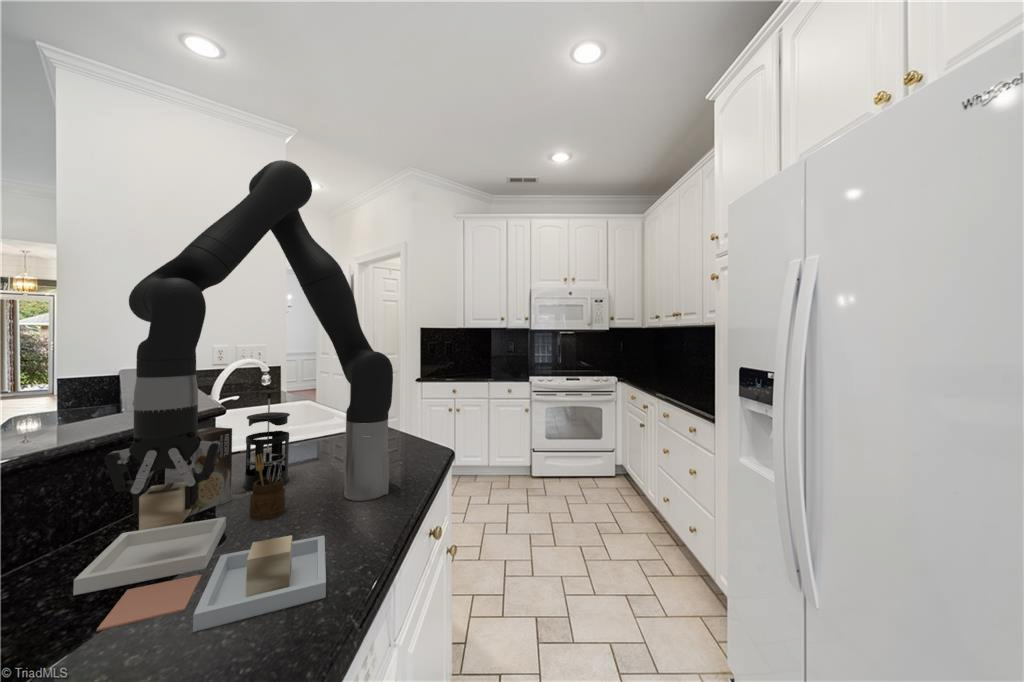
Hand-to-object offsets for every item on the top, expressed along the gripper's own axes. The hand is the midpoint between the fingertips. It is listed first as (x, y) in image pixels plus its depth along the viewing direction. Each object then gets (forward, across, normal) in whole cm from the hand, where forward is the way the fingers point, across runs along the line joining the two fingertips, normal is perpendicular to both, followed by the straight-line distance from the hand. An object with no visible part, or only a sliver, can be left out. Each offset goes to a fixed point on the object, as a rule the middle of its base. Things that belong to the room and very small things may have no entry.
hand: (166, 510), depth 60 cm
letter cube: (+1, 0, 0) cm, 1 cm away
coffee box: (+8, 0, -21) cm, 23 cm away
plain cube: (+7, -15, +15) cm, 23 cm away
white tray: (+8, +1, 0) cm, 8 cm away
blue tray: (+8, -15, +15) cm, 23 cm away
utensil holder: (+8, -12, -11) cm, 19 cm away
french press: (+8, -11, -32) cm, 35 cm away
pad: (+8, -2, +13) cm, 15 cm away
